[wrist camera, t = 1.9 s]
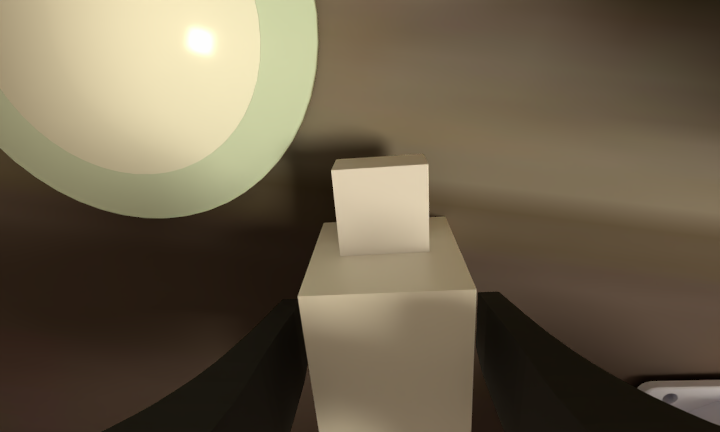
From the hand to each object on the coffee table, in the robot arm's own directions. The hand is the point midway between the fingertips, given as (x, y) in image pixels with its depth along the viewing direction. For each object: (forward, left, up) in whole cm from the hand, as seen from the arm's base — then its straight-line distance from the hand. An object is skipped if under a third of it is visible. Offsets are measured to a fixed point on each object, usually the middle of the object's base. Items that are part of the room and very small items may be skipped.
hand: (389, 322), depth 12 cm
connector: (0, -1, -2) cm, 2 cm away
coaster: (+7, -9, -2) cm, 12 cm away
